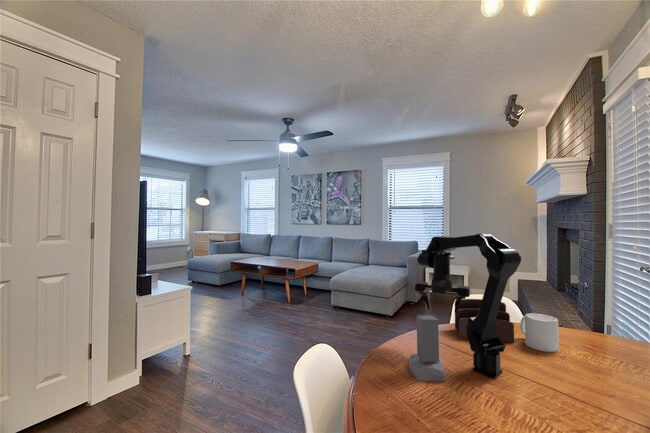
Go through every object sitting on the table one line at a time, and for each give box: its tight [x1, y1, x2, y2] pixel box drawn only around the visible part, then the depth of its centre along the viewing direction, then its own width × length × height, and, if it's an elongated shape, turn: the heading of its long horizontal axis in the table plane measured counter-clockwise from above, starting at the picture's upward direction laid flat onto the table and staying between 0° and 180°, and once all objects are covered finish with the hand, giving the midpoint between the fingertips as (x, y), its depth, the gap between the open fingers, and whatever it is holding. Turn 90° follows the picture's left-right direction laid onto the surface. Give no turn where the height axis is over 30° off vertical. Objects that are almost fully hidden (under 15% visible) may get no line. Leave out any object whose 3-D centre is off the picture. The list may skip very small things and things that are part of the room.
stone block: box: [408, 353, 446, 382], centre depth 90 cm, size 12×5×10 cm
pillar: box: [416, 315, 440, 362], centre depth 90 cm, size 5×5×12 cm
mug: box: [520, 312, 560, 353], centre depth 111 cm, size 14×10×11 cm
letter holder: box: [454, 298, 515, 344], centre depth 119 cm, size 10×20×14 cm, turn 75°
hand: (442, 312), depth 108 cm, fingers open, 9 cm apart
